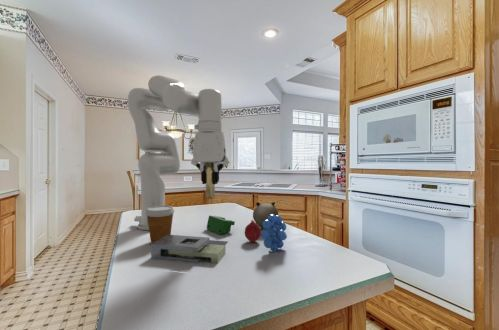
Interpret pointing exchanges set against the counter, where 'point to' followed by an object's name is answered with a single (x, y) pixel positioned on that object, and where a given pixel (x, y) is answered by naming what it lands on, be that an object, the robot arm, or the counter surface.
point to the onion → (252, 231)
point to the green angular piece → (219, 225)
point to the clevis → (186, 249)
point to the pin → (210, 181)
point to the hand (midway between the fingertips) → (210, 183)
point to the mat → (217, 242)
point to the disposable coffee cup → (159, 221)
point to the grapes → (274, 232)
